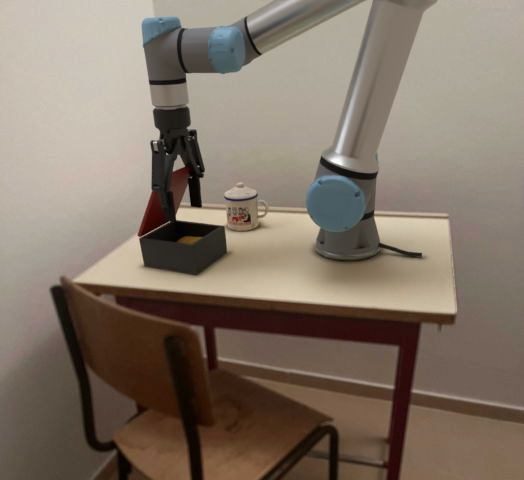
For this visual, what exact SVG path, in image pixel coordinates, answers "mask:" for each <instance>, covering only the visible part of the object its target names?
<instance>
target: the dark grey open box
mask: <svg viewBox="0 0 524 480" xmlns="http://www.w3.org/2000/svg"><path fill="white" fill-rule="evenodd" d="M226 235H227V234H226V226H225V225H220V224H211V223H204V222H195V221H187V220H179V219H176V222H168V223H166V224H164V225H162V226H160V227H158V228H157V229H155V230H153V231H151V232H149V233H147V234H145V235H144V236H142V237H138V240H139V245H140V251H141V257H142V261H143V266H144V267H146V268H151V269H152V268H153V269H158V270H165V271H170V272H175V273H181V274H188V275H193V276H198V275H200V273H202V272H203V271H204V270H206V269H207V268H209V267H210V266H212V265H213V264H214V263H215V262H217V261H218V260H221V258H223V257H224V256H225V255H227V254H228V248H227V237H226ZM186 236H191V237H203V238H201V239H199V240H198V241H196V242H195V243H193V244H185V243H178V242H177V241H178V240H179V239H180V238H182V237H186Z"/></svg>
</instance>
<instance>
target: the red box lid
mask: <svg viewBox="0 0 524 480" xmlns="http://www.w3.org/2000/svg"><path fill="white" fill-rule="evenodd" d="M188 178H191V177H190V175H189V168H188V167H187V166H185V165H184V166H183V167H181V168H178V169H175V170H173V173H172V179H171V185H170V191H173V199H174V206H175V214H176V215H177V214H178V211H179V208H180V206H181V203H182V200H183V198H184V195H185V193H186V190H187V189H188ZM164 186H165V184H164ZM169 222H170V221H164V214H163V207H162V206H161V200H160V194H159V192H158V191H152V190H151V193H150V196H149V199H148V202H147V205H146V207H145V211H144V214H143V217H142V220H141V223H140V226H139V229H138V232H137V234H136V235H137V237H138V238H141V237H143V236H145V235H146V234H148V233H150V232H152V231H154V230H156V229H158V228H159V227H161V226H163V225H165V224H167V223H169Z"/></svg>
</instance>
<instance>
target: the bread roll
mask: <svg viewBox="0 0 524 480" xmlns="http://www.w3.org/2000/svg"><path fill="white" fill-rule="evenodd" d="M201 238H203V237H191V236H186V237H182V238H180V239H179V240H178V241H177V242H178V243H185V244H193V243H195V242H196V241H198V240H199V239H201Z"/></svg>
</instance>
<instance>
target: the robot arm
mask: <svg viewBox="0 0 524 480" xmlns="http://www.w3.org/2000/svg"><path fill="white" fill-rule="evenodd" d="M366 1H367V0H272V1H270V2H268V3H266V4H265V5H264V6H261V7H260V8H258V9H257V10H255V11H253V12H251V13H249V14H247V15H246V16H244V17H242V18H240V19H239V20H237V21H235V22H233V23H231V24H229V25H220V26H210V27H209V26H208V27H193V28H185V27H183V26H182V24H181V20H180V18H179V17H178V16H159V17H156V16H155V17H145V18H143V20H142V21H141V37H142V48H143V52H144V59H145V65H146V71H147V77H148V85H149V92H150V101H151V105H152V106H153V107H154V108H153V109H152V115H153V116H152V117H153V122H154V124H153V125H154V127H155V128H156V129H157V130H158V131H159V137H158V139H155V140H154V139H152V140H150V142H149V144H150V150H151V182H150V183H151V184H150V185H151V187H150V188H151V192H152V191H158V192H159V194H160V200H161V206H162V207H163V214H164V221H170V222H176V220H177V214H175V206H174V199H173V191H170V185H171V179H172V173H173V171H174V167H175V162H176V161H177V159H178V156H179V157H180V159H181V161H182V163H183V165H184V167H185V166H187V167H188V168H189V175H190V178H188V185H187V188H188V195H189V203H190V207H191V208H198V209H202V207H203V202H202V192H201V191H202V190H201V189H202V186H201V179H204V177H205V174H204V173H205V172H206V168H205V164H204V161H203V157H202V153H201V149H200V144H199V141H198V131H197V129H193V128H189V127H190V126H191V124H192V120H191V111H190V107H189V106H187V105H188V104H189V103H190V99H189V90H188V82H187V81H188V80H187V74H221V75H225V74H231V73H239V72H240V71H241V70H242V68H243V67H245V66H247V65H249V64H250V63H252V62H253V61H254V60H255V59H257V58H259V57H261V56H263V55H264V54H267V53H269V52H270V51H272V50H274V49H276V48H278V47H279V46H282V45H284V44H285V43H287V42H289V41H291V40H294V39H295V38H297V37H300V36H301V35H303V34H305V33H306V32H308V31H310V30H312V29H314V28H317V27H318V26H320V25H322V24H324V23H326V22H328V21H330V20H332V19H333V18H334V19H335V17H337V16H339V15H341V14H343V13H345V12H347V11H349V10H350V9H353V8H355V7H356V6H359V5H360V4H363V3H364V2H366ZM437 3H438V0H372V2H371V6H370V9H369V13H368V17H367V20H366V24H365V27H364V31H363V34H362V38H361V41H360V45H359V48H358V53H357V56H356V59H355V62H354V67H353V70H352V73H351V77H350V80H349V84H348V88H347V90H346V93H345V98H344V102H343V105H342V108H341V112H340V115H339V119H338V122H337V127H336V130H335V133H334V136H333V139H332V143H331V145H330V146H328V147H327V148H324V149H323V150H322V151H321V154H320V158H319V161H318V164H317V165H318V166H317V169H316V172H315V176H314V179H313V182H312V183H310V184H311V185H310V186H309V188H308V189H307V192H306V196H305V197H306V198H305V207H306V212H307V214H308V216H309V218H310V219H311V221H312V222H313V223H314V225H316V226H317V227H319V230H318V233H317V237H316V239H315V251H316V252H317V254H318V255H320V256H321V257H324V258H327V259H331V260H336V261H359V260H365V259H369V258H371V257H374V256H375V255H377V254H379V252H380V250H381V249H383V250H387V251H392V252H394V253H396V254H397V253H398V254H400V255H404V256H408V257H416V258H417V257H418V258H422V257H423V252H415V251H407V250H404V249H400V248H399V247H395V246H392V245H389V244H386V243H382V242H381V238H380V234H379V231H378V227H377V223H376V219H375V208H376V191H377V177H378V174H379V171H380V165H379V154H378V150H379V147H380V143H381V141H382V137H383V135H384V131H385V129H386V125H387V122H388V120H389V116H390V114H391V110H392V108H393V105H394V102H395V99H396V97H397V93H398V90H399V87H400V84H401V81H402V77H403V75H404V72H405V69H406V66H407V63H408V61H409V57H410V54H411V51H412V49H413V46H414V43H415V40H416V36H417V34H418V31H419V27H420V24H421V22H422V18H423V15H424V13H426V11H427V10H429V9H430V8H432V7H433V6H435V5H436V4H437ZM164 184H165V186H164Z"/></svg>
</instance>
